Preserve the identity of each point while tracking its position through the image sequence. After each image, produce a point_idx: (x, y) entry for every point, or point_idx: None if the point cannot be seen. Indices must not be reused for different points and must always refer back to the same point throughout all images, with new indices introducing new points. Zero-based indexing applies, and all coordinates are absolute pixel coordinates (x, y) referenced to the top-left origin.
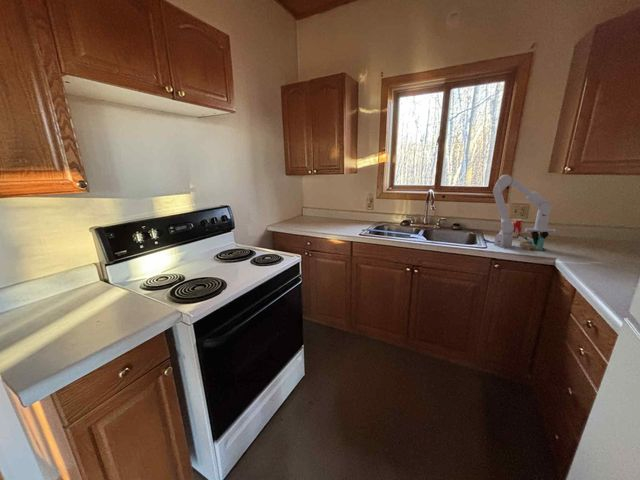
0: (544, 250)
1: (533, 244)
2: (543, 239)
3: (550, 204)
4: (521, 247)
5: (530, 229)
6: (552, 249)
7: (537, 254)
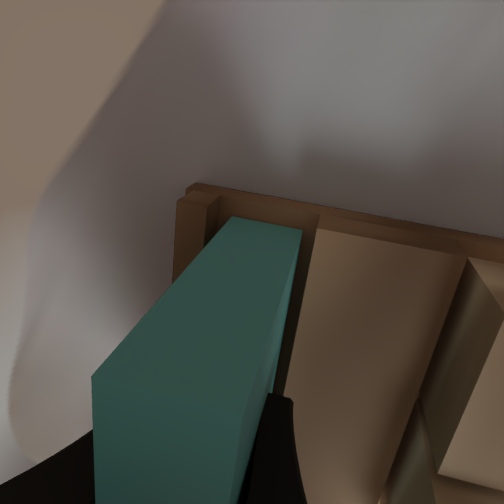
0: (205, 196)
1: None
2: (145, 362)
3: None
4: None
5: None
6: (26, 331)
7: (453, 16)
